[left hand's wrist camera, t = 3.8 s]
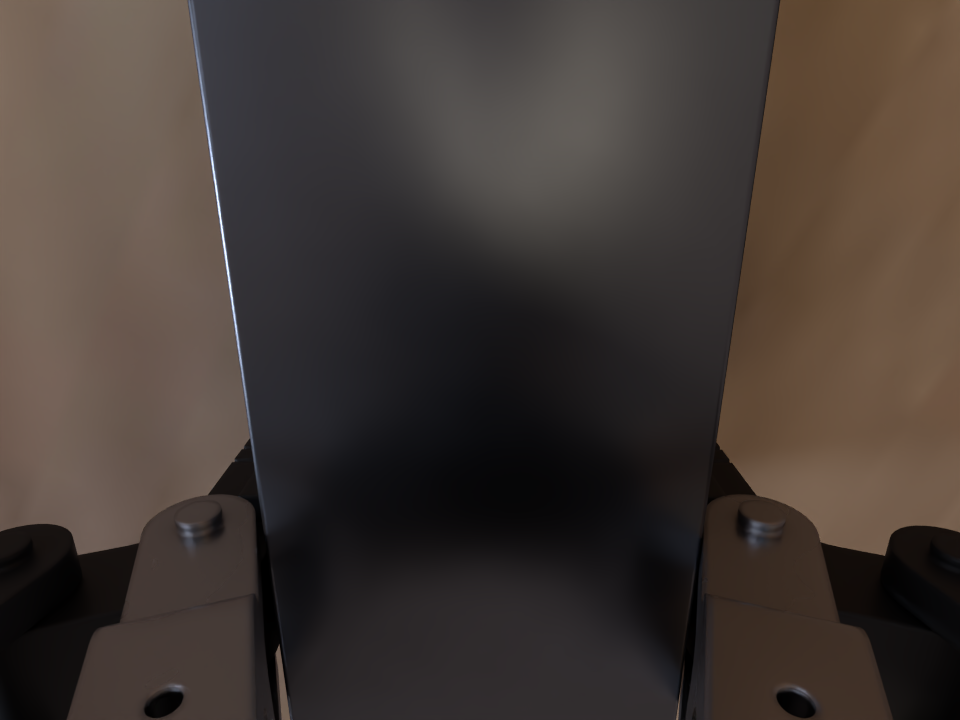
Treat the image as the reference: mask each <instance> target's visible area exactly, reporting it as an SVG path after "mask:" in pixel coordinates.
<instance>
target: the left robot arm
mask: <svg viewBox="0 0 960 720" xmlns="http://www.w3.org/2000/svg"><path fill="white" fill-rule="evenodd" d="M278 646H279V636H278V629H277V622H276V615H275V608H274V601H273V594H272V587H271V580H270V573H269V566H268V559H267V552H266V545H265V538H264V531H263V524H262V517H261V510H260V503H259V496H258V489H257V482H256V475H255V468H254V461H253V454H252V447H251V440H250V439H249V440H248V442H247V443H246V444H245V446H244V449H242V450H241V451H240V452H239V454H238V455H237V457H236V458H235V462H232V463H231V465H230V466H229V467H228V469H227V470H226V471H225V473H224V474H223V475H222V477H221V478H220V479H219V481H218V482H217V483H216V485H215V486H214V487H213V489H212V490H211V492H210V493H209V494H208V495H206V496H200V497H195V498H191V499H188V500H185V501H182V502H179V503H177V504H174V505H172V506H170V507H168V508H166V509H165V510H163V511H161V512H160V513H158V514H157V515H156V516H154V517H153V518H152V519H151V520H150V521H149V522H148V523H147V524H146V526H145V527H144V529H143V532H142V534H141V538H140V542H139V543H138V544H133V545H129V546H124V547H119V548H114V549H109V550H103V551H98V552H93V553H88V554H82V555H77V551H76V547H75V543H74V540H73V536H72V534H71V532H70V531H69V530H68V529H66V528H64V527H61V526H58V525H52V524H34V525H26V526H20V527H15V528H11V529H7V530H4V531H1V532H0V720H282V719H281V704H280V690H279V675H278V666H277V659H276V651H277V648H278ZM678 720H960V532H956V531H953V530H949V529H944V528H939V527H932V526H908V527H904V528H900V529H898V530H896V531H895V532H894V533H893V534H892V535H891V537H890V540H889V544H888V547H887V551H886V555H885V556H883V555H878V554H873V553H867V552H862V551H857V550H852V549H847V548H841V547H837V546H832V545H828V544H824V543H821V542H820V538H819V534H818V532H817V529H816V527H815V526H814V525H813V523H812V522H811V521H810V520H809V519H808V518H807V517H806V516H804V515H803V514H802V513H800V512H799V511H797V510H795V509H794V508H792V507H790V506H788V505H786V504H783V503H781V502H778V501H775V500H772V499H769V498H765V497H760V496H757V495H756V494H755V493H754V492H753V490H752V489H751V488H750V486H749V485H748V484H747V482H746V481H745V480H744V478H743V477H742V476H741V474H740V473H739V472H738V470H737V469H736V468H735V466H734V465H733V464H732V463H729V458H728V457H727V456H726V454H725V453H724V452H723V450H720V446H719V445H718V444H717V443H716V446H715V453H714V460H713V467H712V474H711V481H710V488H709V495H708V501H707V508H706V515H705V522H704V529H703V536H702V543H701V550H700V557H699V564H698V570H697V577H696V584H695V591H694V598H693V605H692V612H691V619H690V626H689V633H688V640H687V646H686V653H685V660H684V667H683V674H682V681H681V689H680V704H679V718H678Z"/></svg>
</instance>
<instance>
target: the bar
mask: <svg viewBox="0 0 960 720" xmlns="http://www.w3.org/2000/svg"><path fill="white" fill-rule="evenodd" d="M779 4H780V0H188V7H189V14H190V21H191V28H192V35H193V42H194V49H195V56H196V63H197V70H198V77H199V84H200V91H201V98H202V105H203V112H204V119H205V126H206V133H207V140H208V147H209V154H210V161H211V168H212V174H213V181H214V188H215V195H216V202H217V209H218V216H219V223H220V230H221V237H222V244H223V251H224V258H225V265H226V272H227V279H228V286H229V293H230V300H231V307H232V314H233V321H234V328H235V335H236V342H237V349H238V356H239V363H240V370H241V377H242V384H243V391H244V398H245V405H246V412H247V419H248V426H249V433H250V440H251V447H252V454H253V461H254V468H255V475H256V482H257V489H258V496H259V503H260V510H261V517H262V524H263V531H264V538H265V545H266V552H267V559H268V566H269V573H270V580H271V587H272V594H273V601H274V608H275V615H276V622H277V629H278V636H279V643H280V650H281V657H282V664H283V671H284V678H285V685H286V692H287V699H288V706H289V713H290V720H676V715H677V709H678V702H679V695H680V688H681V681H682V674H683V667H684V660H685V653H686V646H687V640H688V633H689V626H690V619H691V612H692V605H693V598H694V591H695V584H696V577H697V570H698V564H699V557H700V550H701V543H702V536H703V529H704V522H705V515H706V508H707V501H708V495H709V488H710V481H711V474H712V467H713V460H714V453H715V446H716V439H717V432H718V425H719V419H720V412H721V405H722V398H723V391H724V384H725V377H726V370H727V363H728V356H729V350H730V343H731V336H732V329H733V322H734V315H735V308H736V301H737V294H738V287H739V281H740V274H741V267H742V260H743V253H744V246H745V239H746V232H747V225H748V218H749V211H750V205H751V198H752V191H753V184H754V177H755V170H756V163H757V156H758V149H759V142H760V136H761V129H762V122H763V115H764V108H765V101H766V94H767V87H768V80H769V73H770V66H771V60H772V53H773V46H774V39H775V32H776V25H777V18H778V11H779Z"/></svg>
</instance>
